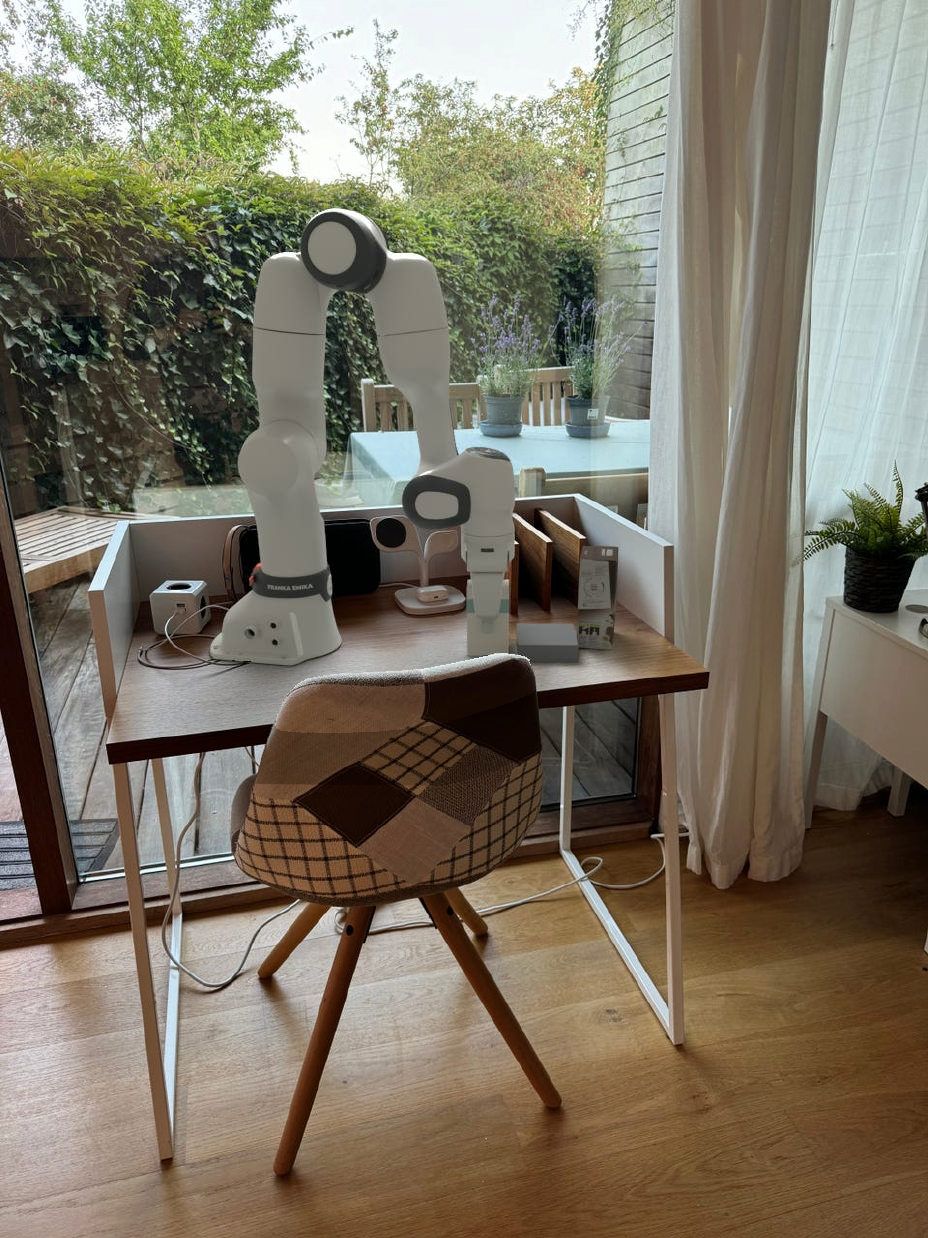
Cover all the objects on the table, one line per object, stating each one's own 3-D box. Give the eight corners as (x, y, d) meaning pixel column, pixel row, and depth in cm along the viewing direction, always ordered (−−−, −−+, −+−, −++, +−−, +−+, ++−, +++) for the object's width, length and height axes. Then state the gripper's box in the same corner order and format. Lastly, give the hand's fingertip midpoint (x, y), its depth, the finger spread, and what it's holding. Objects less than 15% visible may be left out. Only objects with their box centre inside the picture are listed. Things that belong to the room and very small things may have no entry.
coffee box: (612, 650, 151) (617, 560, 145) (575, 648, 152) (578, 558, 146) (615, 631, 159) (619, 545, 153) (579, 629, 160) (582, 544, 155)
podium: (517, 661, 147) (517, 645, 146) (516, 639, 156) (516, 623, 155) (577, 661, 146) (578, 645, 145) (572, 639, 156) (573, 623, 155)
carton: (467, 655, 149) (466, 588, 145) (468, 644, 154) (467, 579, 150) (508, 656, 149) (509, 589, 145) (508, 644, 154) (509, 579, 150)
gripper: (470, 530, 155) (471, 604, 160) (466, 564, 136) (467, 647, 141) (506, 530, 155) (506, 604, 160) (507, 565, 136) (506, 647, 140)
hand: (487, 625), depth 150 cm, fingers closed on carton, 5 cm apart
